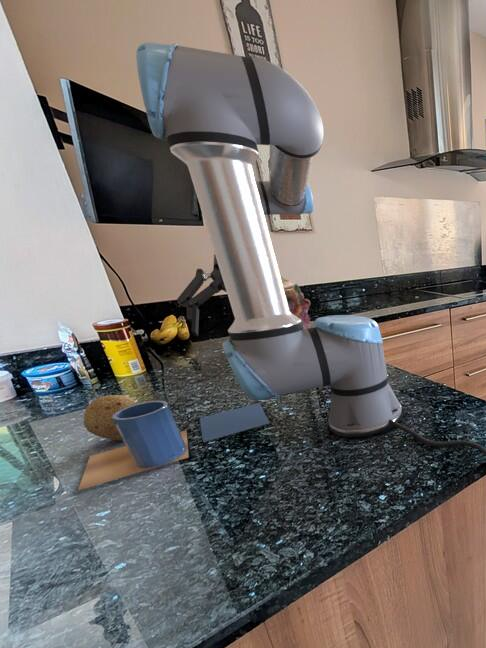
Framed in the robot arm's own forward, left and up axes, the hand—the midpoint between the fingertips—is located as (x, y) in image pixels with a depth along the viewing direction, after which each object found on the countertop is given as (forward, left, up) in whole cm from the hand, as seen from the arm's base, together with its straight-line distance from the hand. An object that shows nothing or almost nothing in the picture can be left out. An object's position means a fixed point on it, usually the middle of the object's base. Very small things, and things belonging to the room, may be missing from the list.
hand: (230, 335), depth 95 cm
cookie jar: (+45, -17, -16) cm, 51 cm away
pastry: (+14, +27, -16) cm, 34 cm away
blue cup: (-22, +17, -16) cm, 32 cm away
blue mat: (-14, +5, -16) cm, 22 cm away
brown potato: (-7, +24, -16) cm, 30 cm away
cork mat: (-19, +21, -16) cm, 33 cm away
